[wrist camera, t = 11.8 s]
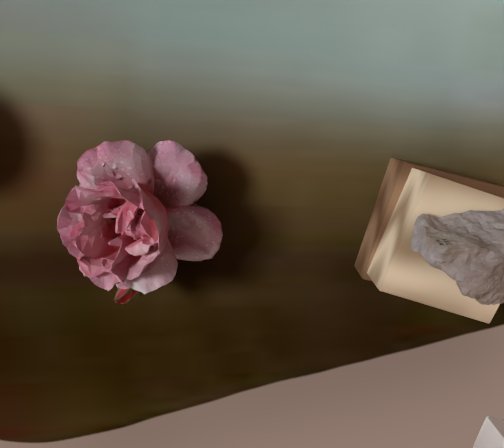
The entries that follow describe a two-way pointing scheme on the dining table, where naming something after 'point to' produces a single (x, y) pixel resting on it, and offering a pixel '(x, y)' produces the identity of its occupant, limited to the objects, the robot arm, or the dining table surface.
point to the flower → (137, 216)
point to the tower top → (412, 263)
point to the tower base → (389, 198)
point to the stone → (466, 251)
